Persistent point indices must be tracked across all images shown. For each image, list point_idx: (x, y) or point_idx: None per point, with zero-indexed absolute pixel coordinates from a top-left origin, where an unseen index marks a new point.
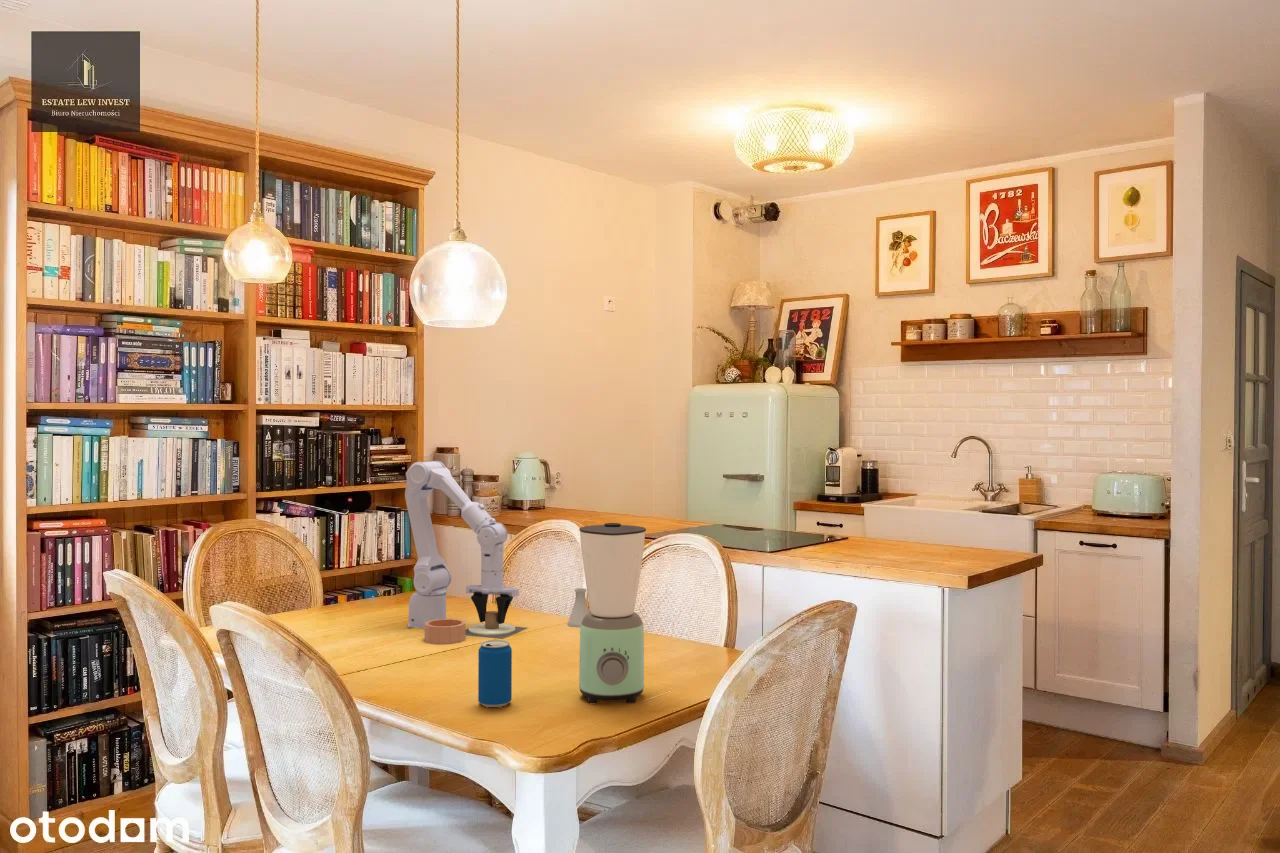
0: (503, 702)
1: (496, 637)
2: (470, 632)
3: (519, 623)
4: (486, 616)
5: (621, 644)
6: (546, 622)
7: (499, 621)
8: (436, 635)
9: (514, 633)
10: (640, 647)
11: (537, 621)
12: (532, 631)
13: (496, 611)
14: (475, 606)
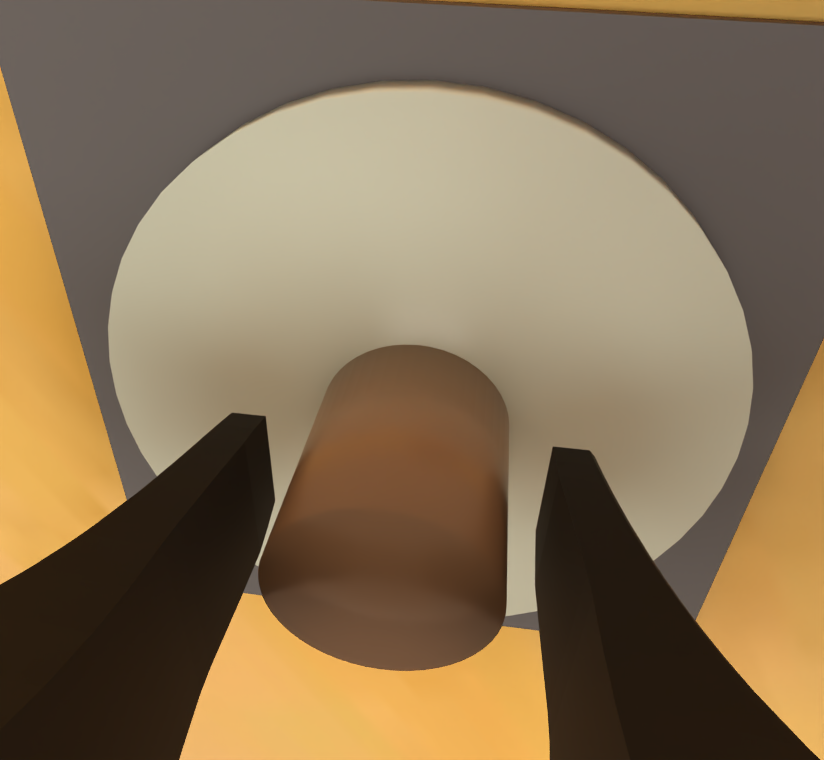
0: None
1: (121, 35)
2: (661, 180)
3: (360, 705)
4: (442, 480)
5: None
6: (190, 741)
7: (225, 429)
8: None
9: (87, 344)
10: None
11: (269, 756)
12: (65, 510)
13: (353, 656)
14: (727, 662)
